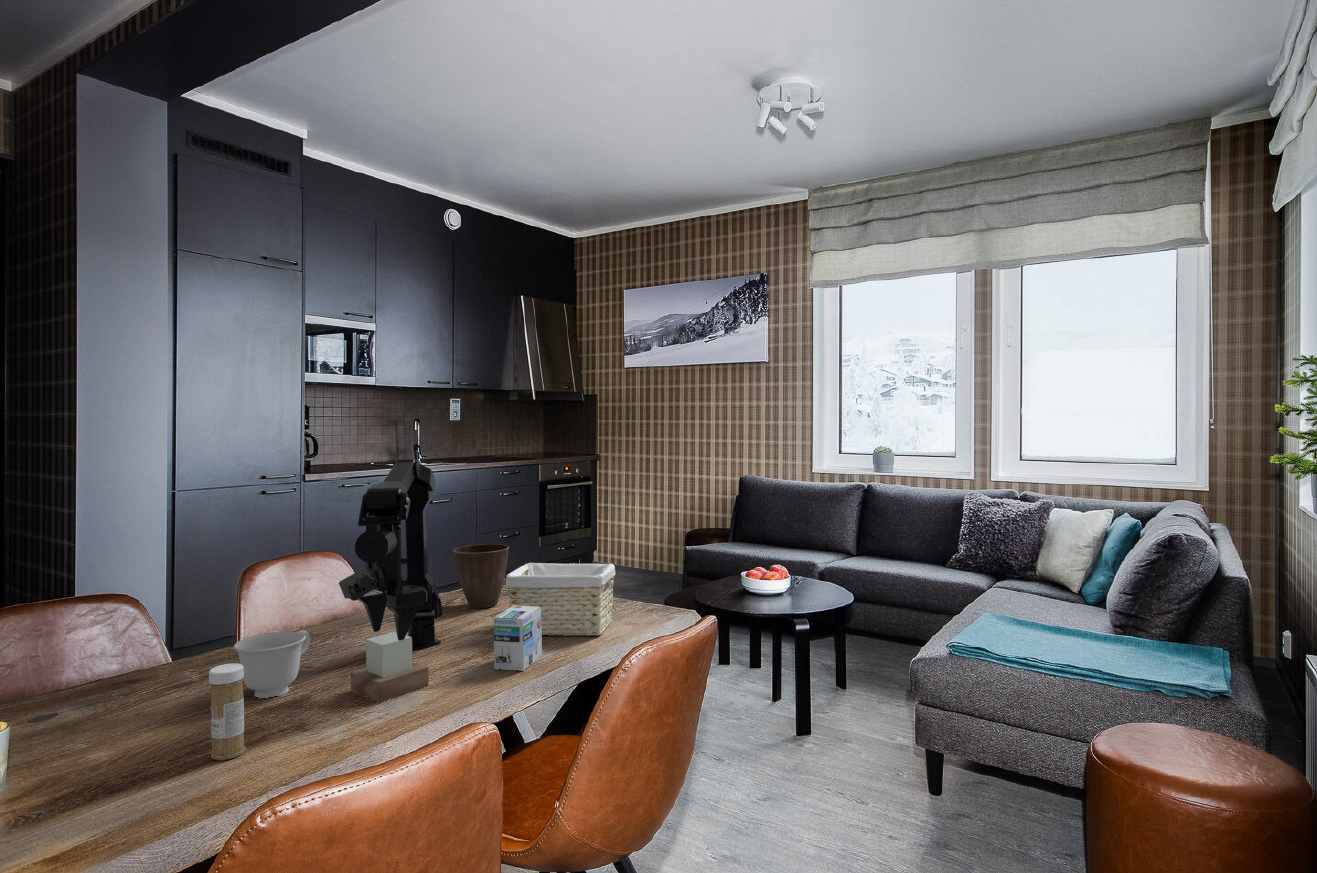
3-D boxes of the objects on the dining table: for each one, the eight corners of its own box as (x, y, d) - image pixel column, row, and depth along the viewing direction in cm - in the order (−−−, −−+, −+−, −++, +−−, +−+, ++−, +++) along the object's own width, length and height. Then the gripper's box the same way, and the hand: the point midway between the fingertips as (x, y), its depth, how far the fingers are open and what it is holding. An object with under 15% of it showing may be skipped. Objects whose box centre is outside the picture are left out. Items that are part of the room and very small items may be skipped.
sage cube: (366, 670, 137) (365, 639, 137) (395, 662, 142) (395, 631, 142) (383, 677, 134) (382, 645, 133) (412, 668, 138) (411, 637, 138)
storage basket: (504, 637, 171) (503, 574, 171) (527, 618, 187) (525, 561, 187) (603, 639, 167) (602, 576, 167) (618, 620, 184) (616, 562, 183)
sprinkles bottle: (206, 756, 110) (204, 668, 110) (239, 745, 114) (236, 660, 114) (217, 764, 107) (215, 674, 107) (250, 753, 111) (248, 666, 111)
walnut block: (350, 693, 137) (350, 672, 137) (397, 678, 145) (397, 658, 145) (381, 705, 131) (380, 682, 131) (428, 688, 139) (428, 667, 139)
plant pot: (445, 611, 195) (443, 552, 195) (468, 598, 210) (467, 543, 209) (497, 613, 192) (496, 553, 192) (517, 599, 207) (516, 543, 207)
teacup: (332, 680, 143) (331, 629, 143) (269, 708, 129) (268, 652, 129) (285, 674, 147) (284, 625, 147) (219, 701, 133) (217, 647, 133)
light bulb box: (524, 672, 146) (523, 618, 146) (492, 670, 147) (491, 617, 147) (543, 655, 157) (542, 605, 156) (513, 653, 158) (512, 604, 158)
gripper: (321, 554, 137) (323, 636, 138) (370, 565, 125) (372, 655, 125) (377, 546, 146) (379, 624, 146) (428, 556, 134) (429, 640, 134)
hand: (388, 635), depth 138 cm, fingers open, 9 cm apart
